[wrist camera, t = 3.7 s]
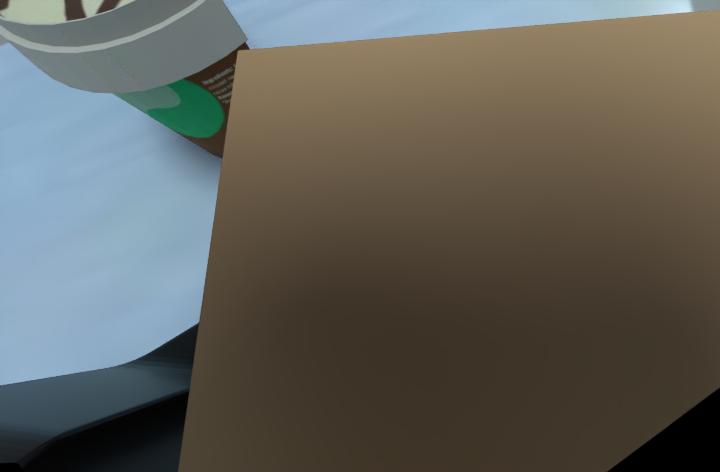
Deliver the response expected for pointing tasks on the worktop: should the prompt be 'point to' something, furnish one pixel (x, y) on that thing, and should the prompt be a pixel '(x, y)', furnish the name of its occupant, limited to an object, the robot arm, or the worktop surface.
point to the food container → (138, 55)
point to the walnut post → (467, 255)
